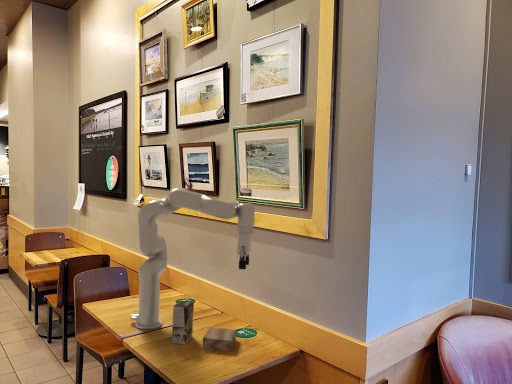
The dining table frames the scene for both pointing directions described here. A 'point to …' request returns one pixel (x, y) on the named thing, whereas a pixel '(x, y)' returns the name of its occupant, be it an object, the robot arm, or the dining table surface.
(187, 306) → the coffee box
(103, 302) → the dining table surface
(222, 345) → the walnut block
